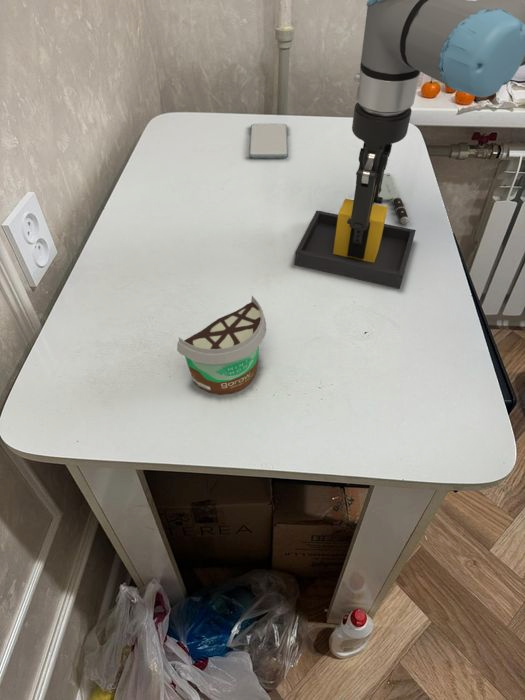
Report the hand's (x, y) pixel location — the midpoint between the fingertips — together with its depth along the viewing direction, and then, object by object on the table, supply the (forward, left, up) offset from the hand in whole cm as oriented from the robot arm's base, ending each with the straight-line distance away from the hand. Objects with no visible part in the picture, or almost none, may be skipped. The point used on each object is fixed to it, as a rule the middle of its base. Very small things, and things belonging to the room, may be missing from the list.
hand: (359, 246), depth 84 cm
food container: (+10, +32, -2) cm, 33 cm away
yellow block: (0, 0, -1) cm, 1 cm away
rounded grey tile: (+28, -32, -2) cm, 42 cm away
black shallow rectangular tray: (+1, 0, -2) cm, 2 cm away
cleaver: (-1, -18, -2) cm, 18 cm away
